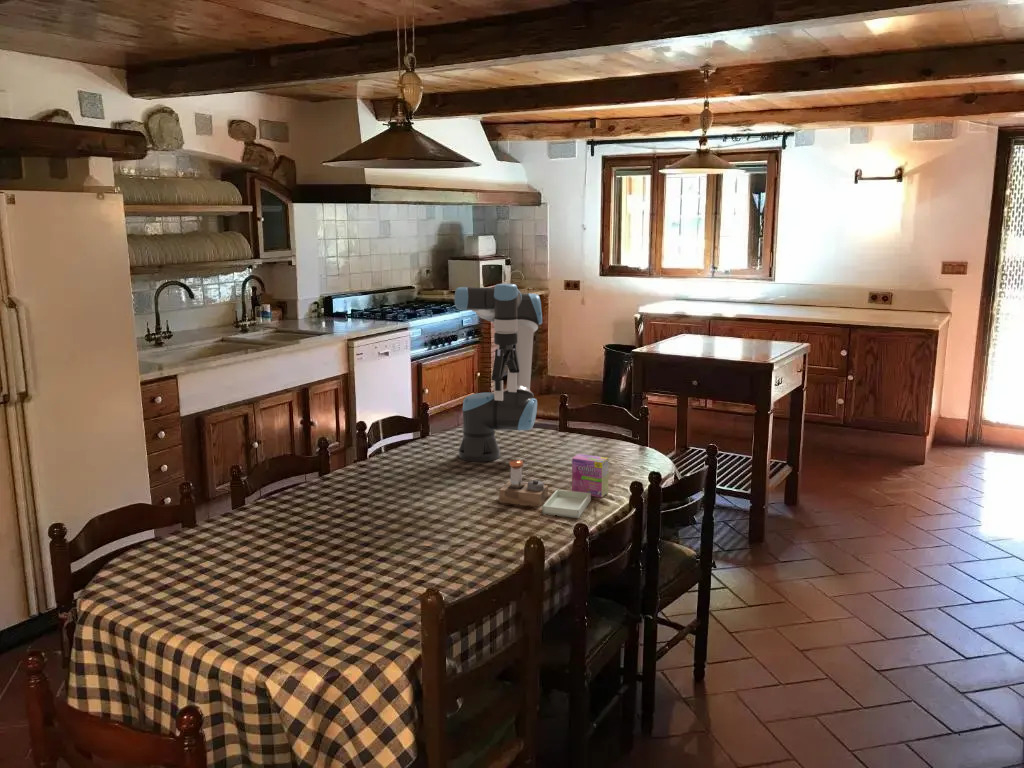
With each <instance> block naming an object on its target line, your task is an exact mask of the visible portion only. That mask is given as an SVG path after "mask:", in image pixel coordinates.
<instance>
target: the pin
mask: <svg viewBox="0 0 1024 768" xmlns="http://www.w3.org/2000/svg"><path fill="white" fill-rule="evenodd" d="M508 465H509V466H510V481H511V489H518V490H521V489H522V483H523V482H522V479H523V474H522V473H523V472H522V470H523V468H522V467H523V466H524V461H523V460H522V459H510V460H509V464H508Z"/></svg>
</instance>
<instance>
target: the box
mask: <svg viewBox="0 0 1024 768" xmlns="http://www.w3.org/2000/svg"><path fill="white" fill-rule="evenodd" d="M609 463H610V461H609V457H603V456H599V455H598V456H597V455H589V454H582V453H577V454H576V455H574V456H573V457H572V459H571V491H576V492H586V493H591V497H594V498H595V497H596V498H603V497H604V496H606V495H607V494H608V493H609V468H610V467H609V466H610V465H609Z"/></svg>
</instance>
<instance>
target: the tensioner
mask: <svg viewBox="0 0 1024 768" xmlns="http://www.w3.org/2000/svg"><path fill="white" fill-rule="evenodd" d="M498 492H499V493H498V495H499V496H498V501H499V502H498V503H501V504H502V503H503V504H509V503H510V505H518V504H520V505H519V506H527V505H531V506H530V507H535V506H539V507H538V508H540V507H541V506H542V505H543V504H544V503H543V502H545V501H547V500H548V499H549V485H547V484H546V485H545V483H544V482H543V481H540V480H537V479H533V480H530V481H528V482H522V489H521V490H518V489H511V480H510V481H507V482H506V483H505V484H504V485H503V486H502V487H501V488H500V489H499V490H498ZM542 503H543V504H542ZM541 504H542V505H541ZM540 505H541V506H540Z"/></svg>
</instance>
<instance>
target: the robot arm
mask: <svg viewBox="0 0 1024 768" xmlns="http://www.w3.org/2000/svg"><path fill="white" fill-rule="evenodd" d="M454 307H455V308H456V309H457V310H462V311H472V312H474V313H476V315H477V317H479V318H480V319H483V320H484V321H485V320H486V321H488V322H492V323H493V325H494V327H493V329H494V331H495V332H494V334H493V336H494V338H493V341H494V345H498V346H499V347H498V349H497V348H496V349H495V351H494V361H493V367H492V374H491V381H494V386H493V387H494V391H493V392H490V391H489V392H479V393H478V392H477V393H473V394H470V395H467V396H465V398H464V399H463V401H462V429H463V431H462V438H461V442H460V445H459V448H458V458H459V459H461V460H463V461H466V462H475V463H477V462H478V463H483V462H491V461H494V460H497V459H499V458H500V456H501V455H500V454H501V452H500V451H501V450H500V448H499V444H498V440H497V438H496V430H499V431H500V430H501V431H503V430H504V431H518V432H520V431H530V430H531V429H533V427H534V426H535V425H534V424H535V422H536V418H537V411H538V410H537V409H538V400H537V398H534V397H535V396H534V395H535V394H534V393H533V392H532V391H531V381H532V380H531V378H532V377H531V376H532V366H533V365H532V361H533V347H534V334H535V332H536V331H538V329H539V326H540V325H543V311H542V301H541V298H540V295H539V294H538V293H529V292H526V293H521V291H520V290H519V289H518V286H517V284H516V283H515V284H514V283H497V284H495V286H494V287H475V286H474V287H470V286H469V287H468V286H464V287H463V286H461V287H457V288H456V289H455V292H454ZM506 365H507V379H506V380H507V381H506V388H505V389H504V380H503V377H504V373H505V371H506V370H505V369H506Z"/></svg>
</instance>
